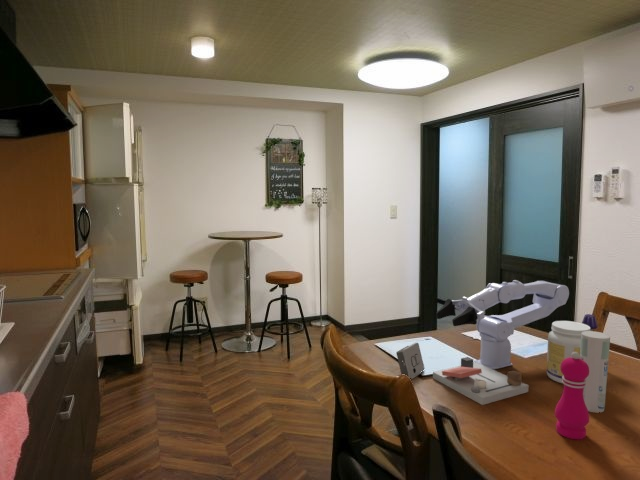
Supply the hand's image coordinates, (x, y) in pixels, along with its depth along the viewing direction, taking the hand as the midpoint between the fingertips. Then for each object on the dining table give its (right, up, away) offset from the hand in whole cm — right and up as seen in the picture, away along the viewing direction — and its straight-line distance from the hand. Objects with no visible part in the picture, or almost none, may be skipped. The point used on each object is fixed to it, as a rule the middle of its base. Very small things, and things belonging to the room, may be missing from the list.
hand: (445, 319), depth 143 cm
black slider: (+7, -16, +1) cm, 17 cm away
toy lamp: (+50, -17, +11) cm, 54 cm away
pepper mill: (+21, -22, -33) cm, 45 cm away
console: (+8, -18, -6) cm, 21 cm away
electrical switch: (-10, -18, +2) cm, 21 cm away
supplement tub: (+38, -18, -1) cm, 42 cm away
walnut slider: (+17, -17, -10) cm, 26 cm away
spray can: (+34, -20, -20) cm, 44 cm away
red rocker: (+3, -15, -7) cm, 17 cm away
